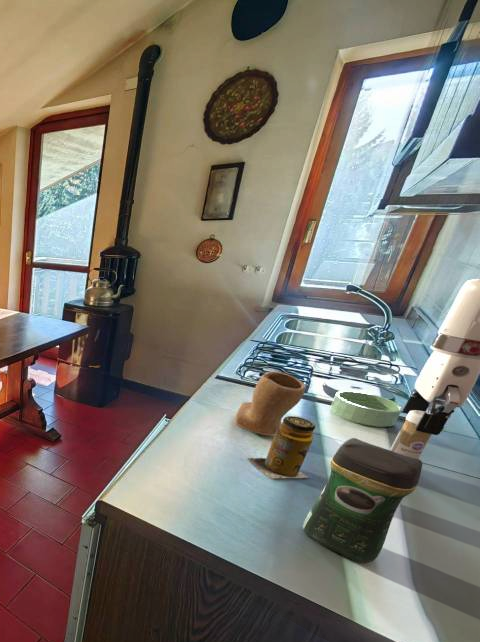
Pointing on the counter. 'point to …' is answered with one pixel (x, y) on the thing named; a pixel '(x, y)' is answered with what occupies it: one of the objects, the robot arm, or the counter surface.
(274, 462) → the condiment
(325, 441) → the counter surface
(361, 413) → the bowl
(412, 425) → the sprinkles bottle
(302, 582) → the counter surface
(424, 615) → the counter surface
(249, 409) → the brown boot planter
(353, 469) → the coffee jar
